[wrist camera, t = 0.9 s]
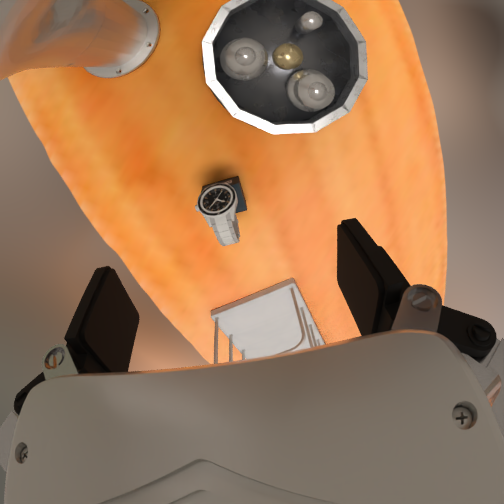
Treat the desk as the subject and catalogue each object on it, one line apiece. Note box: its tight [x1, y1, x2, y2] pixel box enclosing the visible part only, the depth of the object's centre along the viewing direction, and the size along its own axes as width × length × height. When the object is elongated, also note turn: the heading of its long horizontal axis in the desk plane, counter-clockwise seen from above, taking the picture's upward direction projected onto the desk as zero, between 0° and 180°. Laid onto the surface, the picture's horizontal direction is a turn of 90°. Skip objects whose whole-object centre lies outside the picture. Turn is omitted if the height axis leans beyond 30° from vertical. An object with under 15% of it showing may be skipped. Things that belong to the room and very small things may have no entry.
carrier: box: [203, 0, 351, 128], centre depth 30 cm, size 22×22×6 cm
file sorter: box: [211, 278, 325, 364], centre depth 55 cm, size 25×17×16 cm
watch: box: [195, 176, 247, 246], centre depth 39 cm, size 6×8×11 cm
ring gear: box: [202, 0, 368, 134], centre depth 30 cm, size 21×21×3 cm
